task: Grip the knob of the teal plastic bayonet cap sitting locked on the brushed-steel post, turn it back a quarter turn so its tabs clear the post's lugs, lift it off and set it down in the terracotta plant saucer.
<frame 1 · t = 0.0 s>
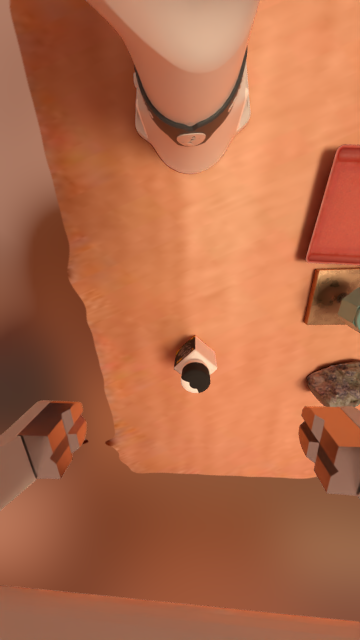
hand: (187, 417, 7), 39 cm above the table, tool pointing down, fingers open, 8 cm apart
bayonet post: (338, 296, 44), on the table
medicine bottle: (195, 351, 52), on the table
plant saucer: (358, 213, 38), on the table
mineral rock: (332, 374, 52), on the table
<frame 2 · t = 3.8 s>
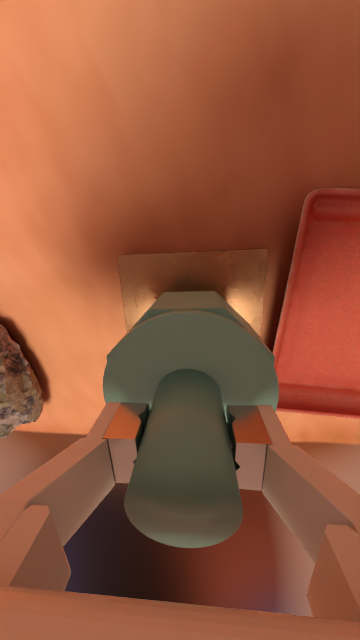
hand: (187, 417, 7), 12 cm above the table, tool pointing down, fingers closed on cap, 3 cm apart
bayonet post: (192, 318, 19), on the table
cap: (190, 348, 13), point 6 cm above the table, touching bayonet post, gripper
mineral rock: (1, 354, 23), on the table
when the fingers open (10 cm above the table, at t = 11.8 s): cap drops 1 cm, point 3 cm above the table.
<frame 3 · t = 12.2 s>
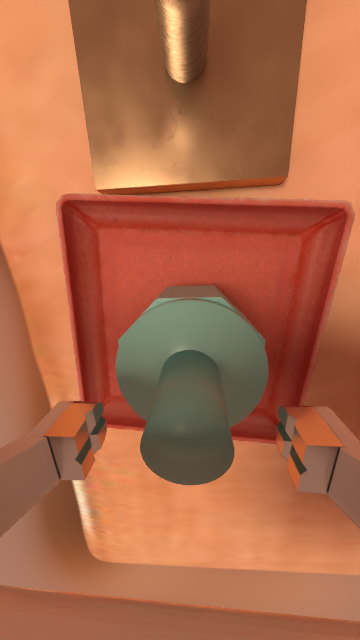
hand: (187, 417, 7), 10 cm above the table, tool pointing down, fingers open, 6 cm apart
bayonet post: (186, 76, 12), on the table
plant saucer: (191, 323, 18), on the table
cap: (191, 337, 14), point 3 cm above the table
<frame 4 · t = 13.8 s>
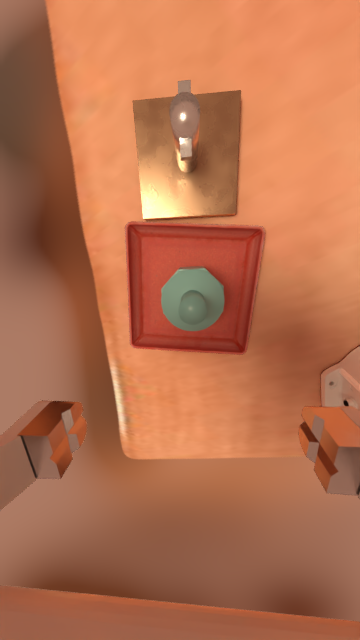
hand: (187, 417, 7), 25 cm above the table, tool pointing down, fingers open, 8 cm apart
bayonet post: (187, 165, 26), on the table
plant saucer: (190, 289, 32), on the table, touching cap
cap: (192, 293, 28), point 3 cm above the table, touching plant saucer
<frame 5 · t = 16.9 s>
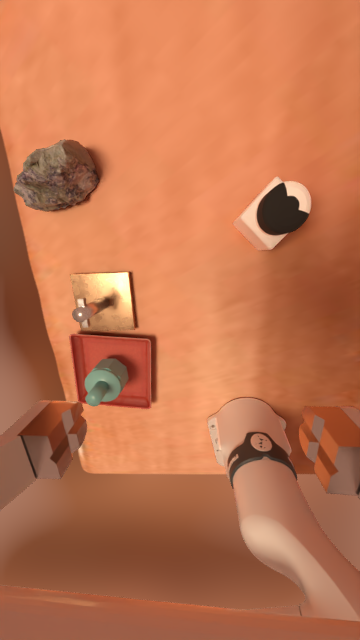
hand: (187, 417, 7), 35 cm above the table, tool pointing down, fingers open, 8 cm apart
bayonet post: (106, 301, 43), on the table
medicine bottle: (259, 222, 37), on the table
plant saucer: (117, 365, 49), on the table, touching cap
cap: (111, 373, 45), point 3 cm above the table, touching plant saucer
mineral rock: (66, 183, 37), on the table
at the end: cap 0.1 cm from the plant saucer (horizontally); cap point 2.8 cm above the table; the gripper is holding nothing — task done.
